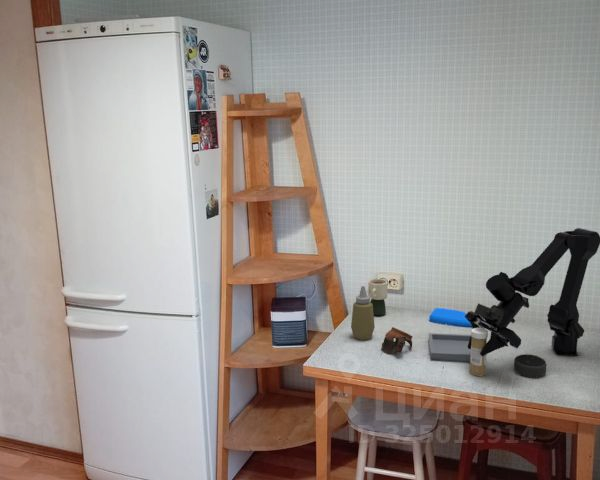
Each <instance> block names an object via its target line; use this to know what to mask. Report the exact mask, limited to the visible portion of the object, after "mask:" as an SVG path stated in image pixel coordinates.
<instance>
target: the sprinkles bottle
mask: <svg viewBox="0 0 600 480" xmlns="http://www.w3.org/2000/svg"><path fill="white" fill-rule="evenodd" d="M488 332H489V330H487V329H483V328H473V329H472V328H471V332H470V335H471V337H472V341H471V357H470V362H469V365H470V367H469V373H470V374H471V375H473V376H479V377H481V376H482V377H483V376H484V375H486V373H487V372H486V363H487V354H486V355H484V356H481V355H480V353H481V351H482V349H483V348H484V346H485V345H486V344H487V342H488V341H487V340H488V336H489V333H488Z"/></svg>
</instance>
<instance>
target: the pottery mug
mask: <svg viewBox="0 0 600 480" xmlns="http://www.w3.org/2000/svg"><path fill="white" fill-rule="evenodd" d="M406 342H407V344H409V347H408V349H409V350H411V349H413V336H412V335H411V334H409V333H407V332H405V331H403V330H400V329H398V328H396V327H394V326H393V327H391V329H390V330H388V331H387V332H385V335H384V338H383V342H382V343H381V347H380V348H381V349H380V350H382V351H384V353H387V354H389V355H393V352H394V353H396V354H401V353H402V352H403V349H404V347H405V345H406Z"/></svg>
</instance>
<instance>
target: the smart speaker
mask: <svg viewBox="0 0 600 480" xmlns="http://www.w3.org/2000/svg"><path fill="white" fill-rule="evenodd" d="M547 365H548V364H547V362H546V360H544V358H542V357H541V356H538V355H534V354H526V353H525V354H519V355H517V356H516V357H515V358H514V359H513V369H514V372H516V373H517V374H519V375H520V376H522V377H525V378H541V377H543V376H545V374H546V373H547Z"/></svg>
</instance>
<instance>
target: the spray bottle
mask: <svg viewBox="0 0 600 480" xmlns="http://www.w3.org/2000/svg"><path fill="white" fill-rule="evenodd" d="M466 314H467V313H466V312H464V311H461V310H456V309H451V308H450V309H448V308H441V307H436V308H434V309H433V311H432V312H431V313H430V314H429V316H428V317H429V319H428V320H429V322H432V323H437V324H440V323H441V324H440V325H445V324H447V325H446V326H452V325H453V327H463V328H472V325H471V324H470V322H469V321H468V320H467V319H466V318H465V315H466ZM484 320H485V319H484ZM485 321H486V320H485ZM490 328H491V327H490Z"/></svg>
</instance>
